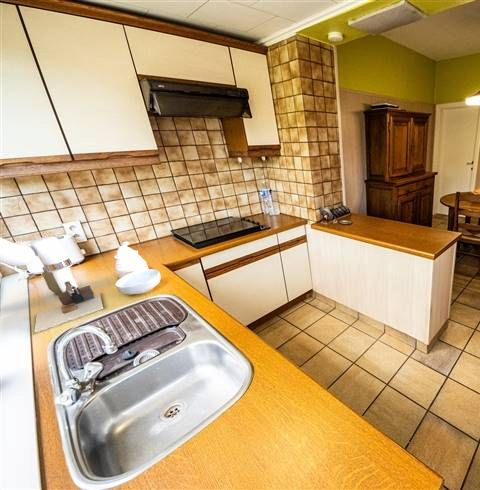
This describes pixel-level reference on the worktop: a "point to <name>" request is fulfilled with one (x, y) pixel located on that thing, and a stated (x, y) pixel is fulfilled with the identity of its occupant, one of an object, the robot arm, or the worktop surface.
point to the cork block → (68, 308)
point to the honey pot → (128, 261)
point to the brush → (84, 291)
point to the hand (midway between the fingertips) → (79, 299)
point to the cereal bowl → (139, 282)
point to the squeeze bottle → (52, 282)
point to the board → (57, 316)
